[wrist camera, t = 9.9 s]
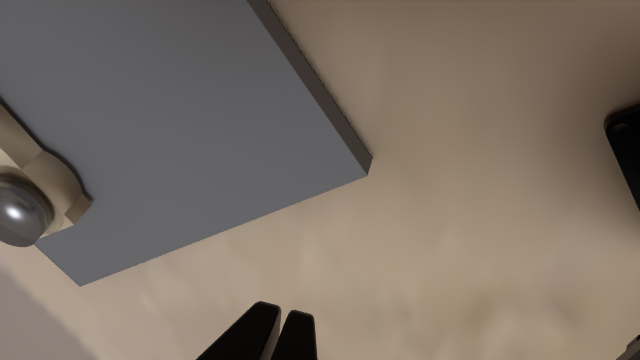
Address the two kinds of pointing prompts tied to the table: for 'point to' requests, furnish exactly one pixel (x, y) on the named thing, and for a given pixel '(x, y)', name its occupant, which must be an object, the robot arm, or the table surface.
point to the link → (40, 174)
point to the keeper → (21, 213)
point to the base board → (169, 120)
